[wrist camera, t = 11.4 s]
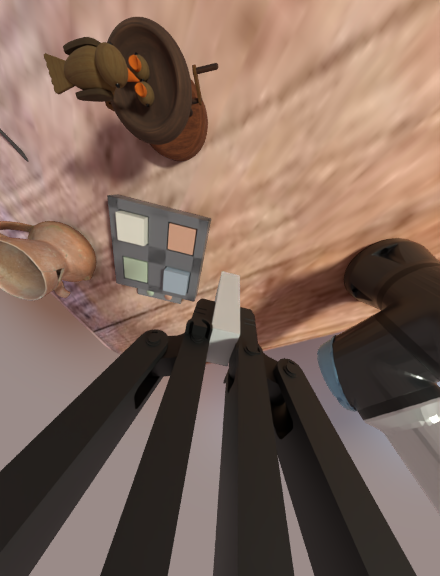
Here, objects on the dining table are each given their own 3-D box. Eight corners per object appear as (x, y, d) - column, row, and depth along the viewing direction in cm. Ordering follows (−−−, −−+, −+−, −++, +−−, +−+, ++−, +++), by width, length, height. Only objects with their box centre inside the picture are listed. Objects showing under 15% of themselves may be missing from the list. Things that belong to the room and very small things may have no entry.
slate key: (190, 271, 41) (187, 276, 39) (187, 290, 44) (185, 295, 42) (167, 266, 41) (163, 270, 39) (165, 285, 44) (162, 290, 42)
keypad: (211, 218, 37) (208, 221, 34) (197, 294, 48) (194, 301, 45) (118, 194, 37) (107, 195, 34) (124, 276, 47) (116, 283, 44)
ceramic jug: (118, 263, 45) (72, 292, 33) (84, 287, 50) (34, 319, 38) (56, 196, 38) (-30, 200, 26) (24, 231, 43) (-61, 248, 31)
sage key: (151, 259, 42) (147, 262, 40) (150, 278, 45) (147, 282, 43) (128, 253, 42) (123, 256, 40) (129, 273, 45) (124, 277, 43)
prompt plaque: (182, 293, 48) (181, 295, 47) (181, 302, 50) (180, 304, 49) (139, 283, 48) (137, 285, 47) (139, 292, 49) (137, 294, 48)
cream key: (148, 217, 36) (143, 219, 34) (148, 243, 38) (143, 246, 37) (121, 210, 35) (115, 211, 34) (123, 236, 38) (117, 239, 36)
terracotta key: (198, 227, 37) (196, 230, 35) (194, 251, 40) (192, 255, 38) (172, 221, 37) (169, 223, 35) (170, 245, 40) (167, 249, 38)
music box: (157, 175, 34) (63, 147, 16) (130, 101, 30) (-38, -48, 12) (233, 146, 31) (220, 72, 13) (216, 59, 26) (161, -236, 9)
